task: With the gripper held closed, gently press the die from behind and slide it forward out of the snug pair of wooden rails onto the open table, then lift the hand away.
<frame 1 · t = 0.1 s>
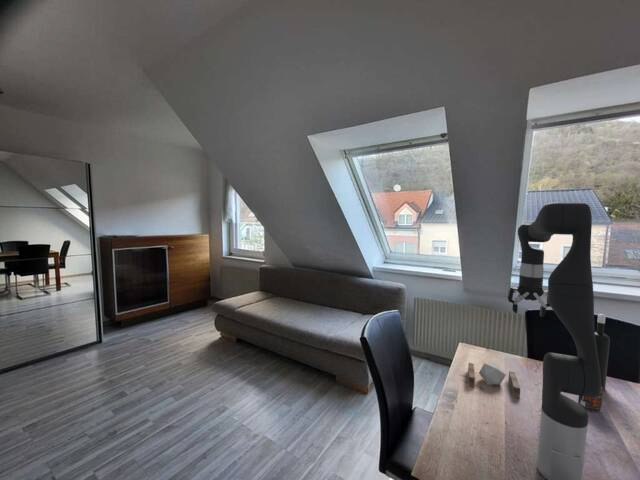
hand: (528, 314, 113), 29 cm above the table, tool pointing down, fingers open, 8 cm apart
pair of wooden rails: (491, 383, 116), on the table
wine bottle: (594, 386, 114), on the table
supplement bottle: (589, 407, 102), on the table
die: (491, 383, 117), on the table
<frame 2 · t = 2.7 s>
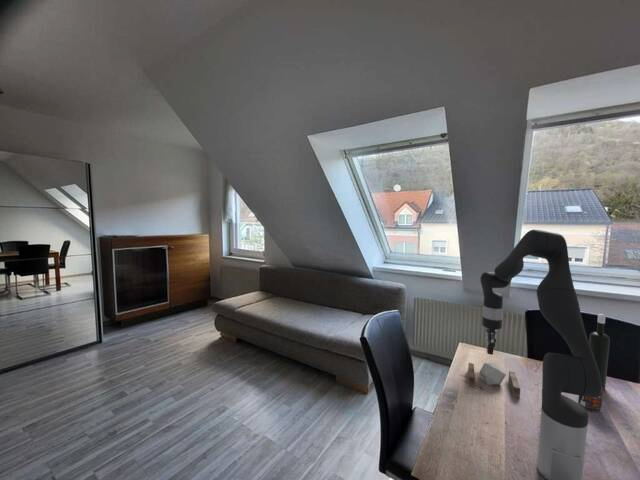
hand: (490, 353, 127), 7 cm above the table, tool pointing down, fingers closed
nothing on the table moved.
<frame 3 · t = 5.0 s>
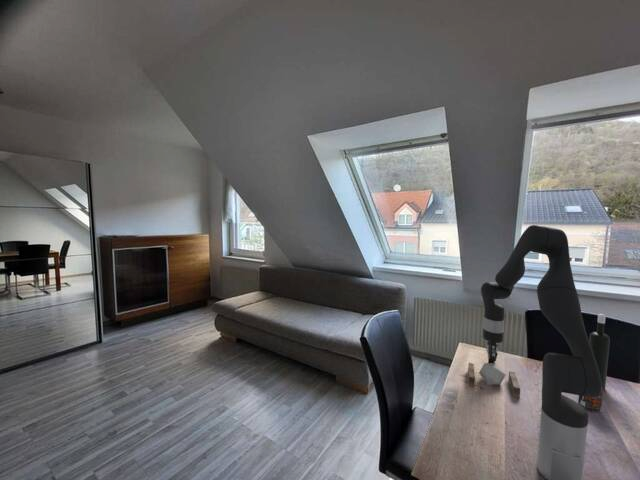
hand: (491, 367, 121), 4 cm above the table, tool pointing down, fingers closed
die: (491, 383, 117), on the table, touching gripper
everything else where it was.
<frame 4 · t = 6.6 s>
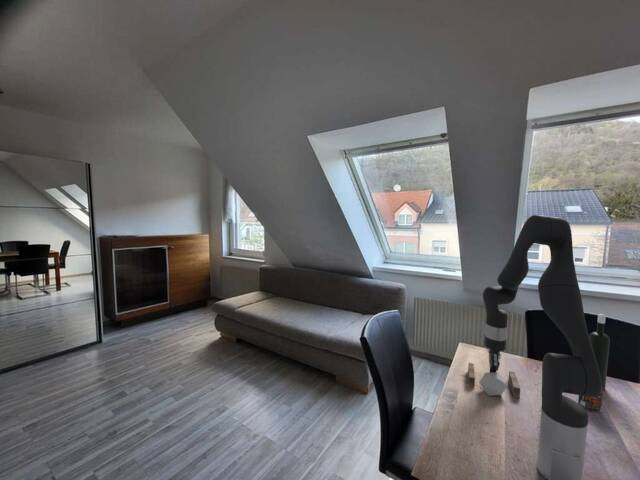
hand: (492, 376, 114), 4 cm above the table, tool pointing down, fingers closed
die: (492, 393, 110), on the table, touching gripper
everything else where it was.
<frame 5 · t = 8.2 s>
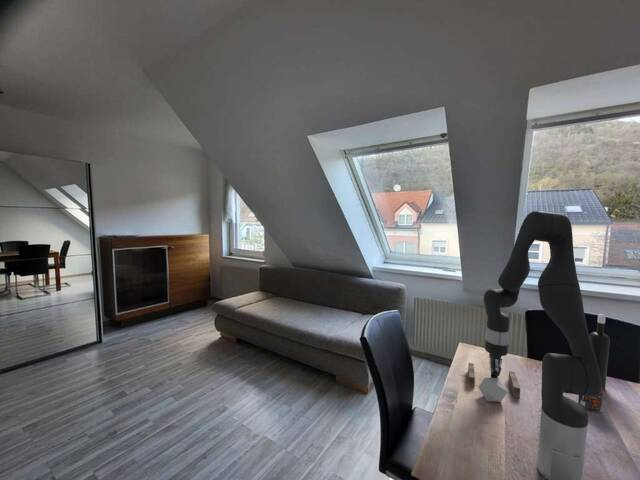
hand: (493, 382, 110), 4 cm above the table, tool pointing down, fingers closed
die: (491, 399, 107), on the table, touching gripper
everything else where it was.
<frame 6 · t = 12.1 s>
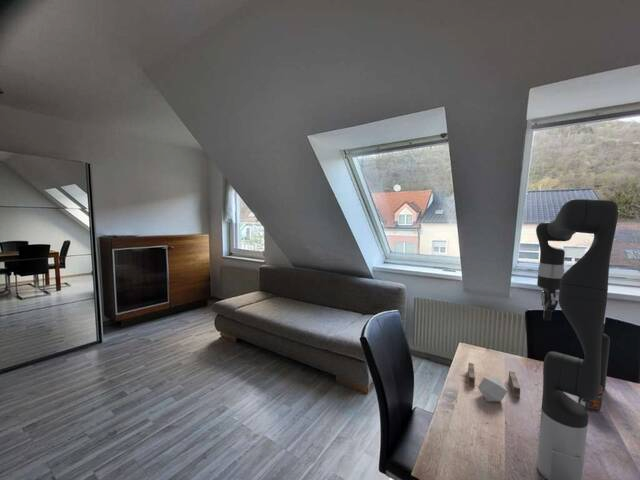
hand: (547, 319, 108), 29 cm above the table, tool pointing down, fingers closed
die: (491, 399, 107), on the table
everything else where it was.
at the end: die inside the target area (6.3 cm from its centre), on the table; die tilted 2° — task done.
